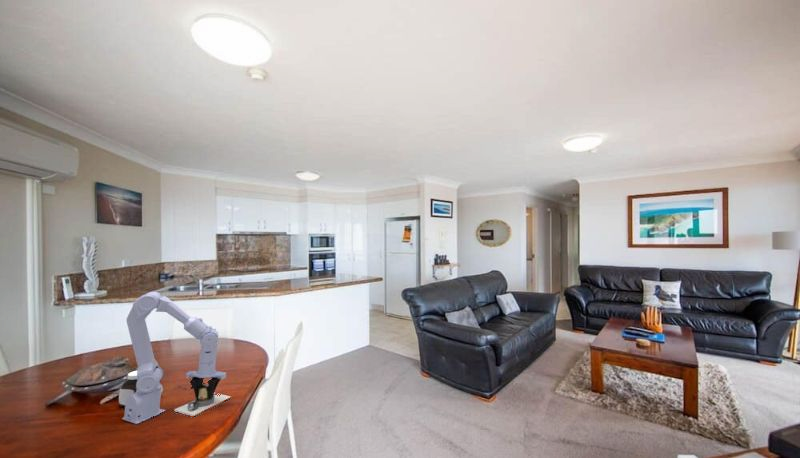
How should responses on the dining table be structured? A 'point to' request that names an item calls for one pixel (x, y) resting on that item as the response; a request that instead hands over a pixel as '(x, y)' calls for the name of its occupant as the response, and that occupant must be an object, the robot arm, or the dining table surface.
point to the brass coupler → (203, 393)
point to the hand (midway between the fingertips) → (204, 397)
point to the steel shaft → (193, 405)
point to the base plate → (192, 413)
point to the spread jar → (128, 388)
